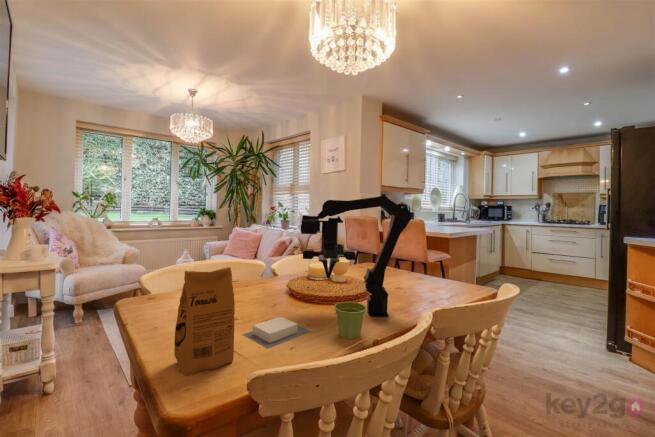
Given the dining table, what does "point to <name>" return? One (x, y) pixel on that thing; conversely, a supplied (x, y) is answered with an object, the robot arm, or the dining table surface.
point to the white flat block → (275, 329)
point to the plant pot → (350, 319)
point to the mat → (269, 345)
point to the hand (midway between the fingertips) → (328, 278)
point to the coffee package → (205, 321)
